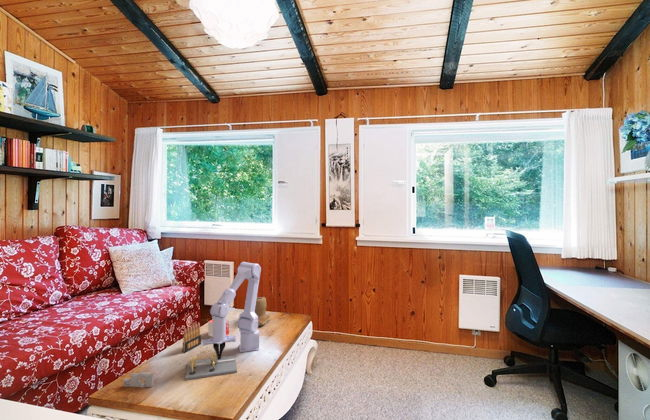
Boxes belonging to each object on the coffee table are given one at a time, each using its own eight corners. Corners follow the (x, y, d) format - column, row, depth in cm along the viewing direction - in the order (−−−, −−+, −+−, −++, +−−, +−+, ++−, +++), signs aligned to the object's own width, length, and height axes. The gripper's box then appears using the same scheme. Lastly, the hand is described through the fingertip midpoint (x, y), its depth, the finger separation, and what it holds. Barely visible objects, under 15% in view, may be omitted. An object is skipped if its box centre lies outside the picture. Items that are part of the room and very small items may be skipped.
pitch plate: (235, 357, 154) (235, 347, 154) (236, 372, 141) (237, 362, 141) (188, 363, 148) (188, 353, 148) (185, 380, 134) (185, 369, 134)
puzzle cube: (208, 335, 178) (208, 321, 178) (219, 330, 185) (219, 317, 185) (217, 339, 174) (217, 324, 174) (229, 334, 181) (229, 320, 180)
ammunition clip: (185, 353, 158) (185, 329, 157) (182, 352, 158) (182, 328, 158) (201, 344, 168) (201, 321, 167) (198, 343, 168) (198, 321, 168)
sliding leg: (216, 359, 149) (216, 352, 149) (216, 368, 141) (216, 361, 141) (210, 360, 148) (210, 353, 148) (210, 369, 140) (210, 362, 140)
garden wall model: (122, 387, 129) (122, 372, 129) (125, 384, 131) (125, 370, 130) (152, 387, 129) (152, 373, 129) (155, 384, 131) (155, 370, 131)
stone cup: (255, 316, 207) (255, 294, 207) (272, 318, 205) (272, 295, 204) (244, 325, 192) (244, 301, 192) (263, 327, 190) (263, 303, 189)
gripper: (202, 334, 141) (202, 365, 141) (236, 331, 145) (235, 360, 146) (202, 328, 147) (202, 357, 148) (235, 325, 152) (235, 353, 152)
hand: (219, 358), depth 147 cm, fingers closed
